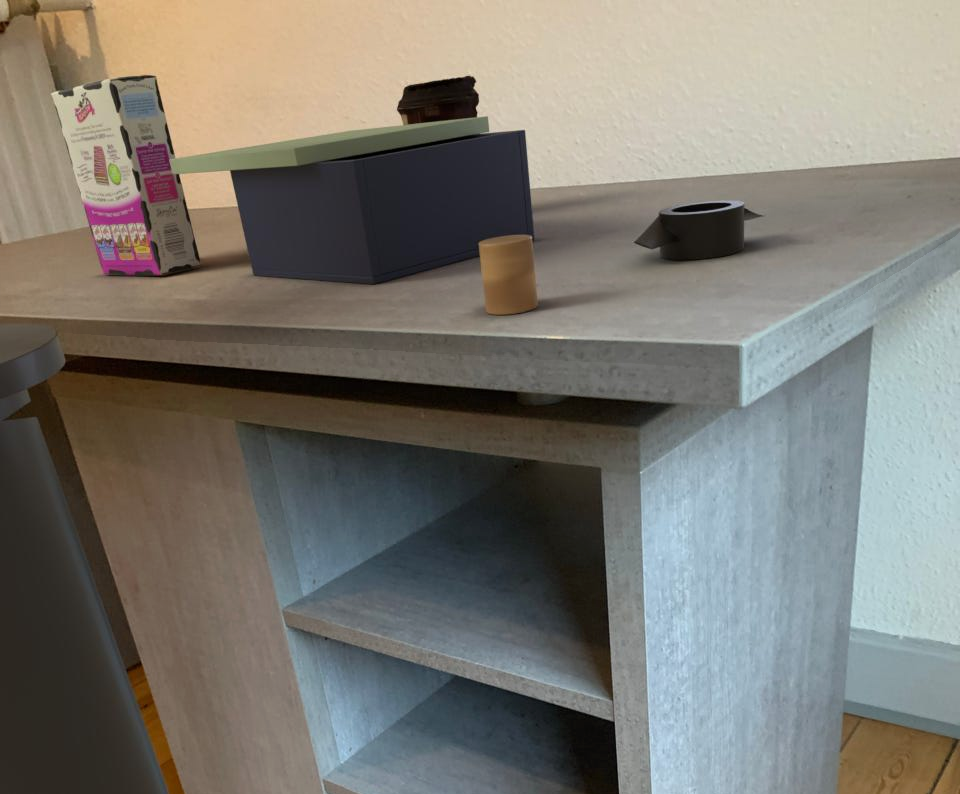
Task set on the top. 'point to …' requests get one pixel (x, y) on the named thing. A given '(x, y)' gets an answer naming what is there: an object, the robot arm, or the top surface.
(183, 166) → the bin lid
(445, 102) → the dark brown block
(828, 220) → the top surface
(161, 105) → the candy bar box
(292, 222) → the bin
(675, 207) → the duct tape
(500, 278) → the cylinder
